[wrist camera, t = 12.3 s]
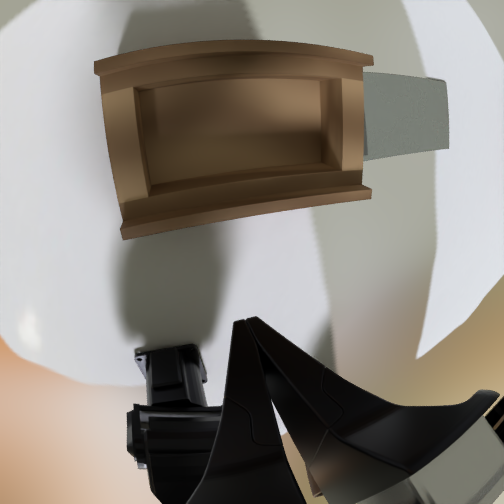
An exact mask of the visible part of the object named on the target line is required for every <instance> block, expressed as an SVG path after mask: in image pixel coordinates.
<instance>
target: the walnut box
mask: <svg viewBox="0 0 504 504" xmlns="http://www.w3.org/2000/svg"><path fill="white" fill-rule="evenodd" d="M373 65H374V62H373V56H372V55H368V54H363V53H359V52H355V51H350V50H345V49H339V48H334V47H328V46H321V45H315V44H314V45H313V44H307V43H298V42H287V41H272V40H215V41H200V42H190V43H181V44H173V45H166V46H159V47H153V48H148V49H143V50H138V51H133V52H128V53H124V54H120V55H116V56H112V57H108V58H105V59H101V60H98V61H94V74H96V75H98V76H100V85H101V97H102V107H103V116H104V124H105V132H106V139H107V145H108V152H109V157H110V163H111V169H112V174H113V179H114V184H115V189H116V193H117V198H118V202H119V206H120V211H121V215H122V219H123V223H122V225H121V228H120V231H121V235H122V238H123V240H128V239H132V238H137V237H142V236H147V235H152V234H157V233H162V232H167V231H172V230H177V229H182V228H187V227H193V226H198V225H204V224H209V223H215V222H220V221H226V220H232V219H237V218H243V217H249V216H255V215H261V214H268V213H274V212H280V211H287V210H293V209H300V208H307V207H314V206H321V205H328V204H335V203H343V202H350V201H358V200H366V199H371V194H372V189H370V188H368V187H366V186H364V185H362V172H363V152H364V87H363V67H364V66H373Z"/></svg>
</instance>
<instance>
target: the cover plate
mask: <svg viewBox="0 0 504 504" xmlns="http://www.w3.org/2000/svg"><path fill="white" fill-rule="evenodd" d="M363 87H364V152H363V161H368V160H373V159H379V158H385V157H391V156H397V155H404V154H410V153H417V152H424V151H432V150H440V149H449V112H448V97H447V86H446V82H442V81H437V80H431V79H425V78H419V77H411V76H404V75H395V74H384V73H371V72H363Z"/></svg>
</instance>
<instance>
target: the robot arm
mask: <svg viewBox="0 0 504 504" xmlns="http://www.w3.org/2000/svg"><path fill="white" fill-rule="evenodd" d="M135 361H136V363H137V365H138V367H139V368H140V370H141V372H142V374H143V375H144V377H145V379H146V387H147V405H148V406H147V405H139V404H133V405H134V410H132V411H130V412H127V451H128V452H129V453H130V454H131V455H132V456H133V457H134V460H135V461H137V465H138V469H147V472H148V479H149V484H150V488H151V491H152V493H153V494H154V495H155V496H156V497H157V499H158V500H159V501H160V502H161V503H162V504H307V503H306V501H305V499H304V496H303V494H302V492H301V490H300V488H299V486H298V483H297V481H296V479H295V477H294V474H293V472H292V470H291V467H290V465H289V463H288V460H287V457H286V454H285V451H284V447H283V443H282V439H281V436H280V432H279V428H278V424H277V421H276V417H275V413H274V409H273V405H272V402H273V404H274V406H275V408H276V409H277V411H278V413H279V415H280V417H281V419H282V421H283V423H284V425H285V427H286V429H287V431H288V432H289V434H290V436H291V438H292V440H293V442H294V444H295V445H296V447H297V449H298V451H299V453H300V454H301V456H302V458H303V460H304V462H305V464H306V465H307V467H308V468H309V471H310V473H311V474H312V476H313V478H314V480H315V481H316V483H317V485H318V487H319V488H320V490H321V492H322V493H323V495H324V497H325V498H326V500H327V501H328V503H329V504H356V503H357V504H492V503H493V502H494V501H495V500H496V499H497V498H498V497H499V495H500V494H501V493H502V492H503V491H504V396H503V397H502V398H501V399H500V400H499V402H498V403H497V404H496V405H495V406H494V407H493V408H492V409H491V410H490V411H489V412H488V413H487V414H486V416H485V417H484V416H483V414H484V413H485V412H486V411H487V410H488V408H490V406H491V405H492V404H493V403H494V402H495V401H496V400H497V398H498V397H499V396H500V394H499V393H497V392H495V391H491V390H478V391H477V392H476V393H475V394H474V395H473V396H472V397H471V398H470V399H468V400H467V401H465V402H463V403H460V404H456V405H444V406H402V405H397V404H394V403H391V402H388V401H386V400H384V399H382V398H379V397H378V396H376V395H373V394H372V393H369V392H367V391H365V390H363V389H361V388H360V387H358V386H356V385H354V384H352V383H350V382H348V381H347V380H345V379H343V378H342V377H340V376H339V375H337V374H336V373H334V372H333V371H331V370H330V369H328V368H327V367H326V368H325V366H324V365H323V364H321V363H320V362H318V361H317V360H315V359H314V358H313V357H311V356H310V355H308V354H307V353H306V352H304V351H303V350H302V349H300V348H299V347H297V346H296V345H295V344H293V343H292V342H291V341H289V340H288V339H286V338H285V337H284V336H282V335H281V334H280V333H278V332H277V331H276V330H274V329H273V328H272V327H270V326H269V325H268V324H266V323H265V322H264V321H262V320H261V319H260V318H258V317H256V316H255V317H250V318H247V319H246V320H244V319H242V320H238V321H234V323H233V330H232V337H231V345H230V353H229V361H228V368H227V376H226V384H225V392H224V399H223V405H221V406H211V407H208V406H207V402H206V397H205V393H204V388H203V383H206V382H207V376H206V373H205V370H204V367H203V364H202V361H201V358H200V355H199V352H198V348H197V346H196V345H195V344H189V345H184V346H179V347H173V348H168V349H162V350H156V351H150V352H144V353H138V354H136V355H135ZM271 400H272V401H271Z"/></svg>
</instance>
